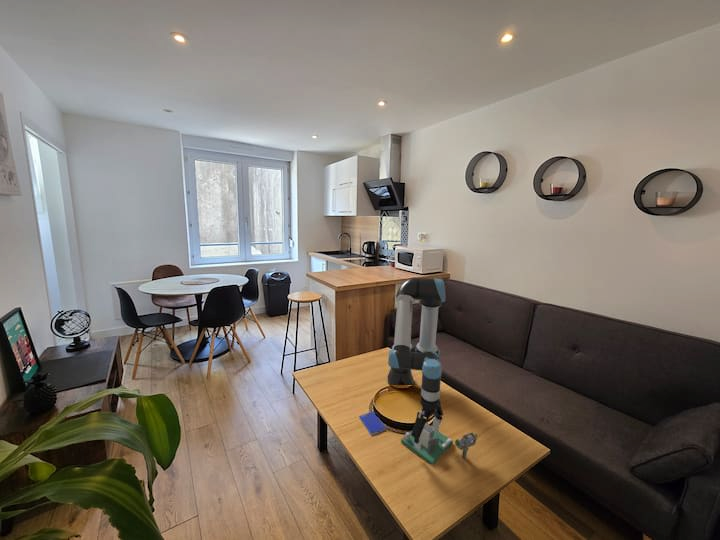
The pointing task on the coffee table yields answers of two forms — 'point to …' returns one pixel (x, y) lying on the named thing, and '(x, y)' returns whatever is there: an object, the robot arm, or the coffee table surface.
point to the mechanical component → (466, 443)
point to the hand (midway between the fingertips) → (426, 439)
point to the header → (433, 444)
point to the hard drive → (372, 423)
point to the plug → (427, 435)
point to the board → (423, 452)
